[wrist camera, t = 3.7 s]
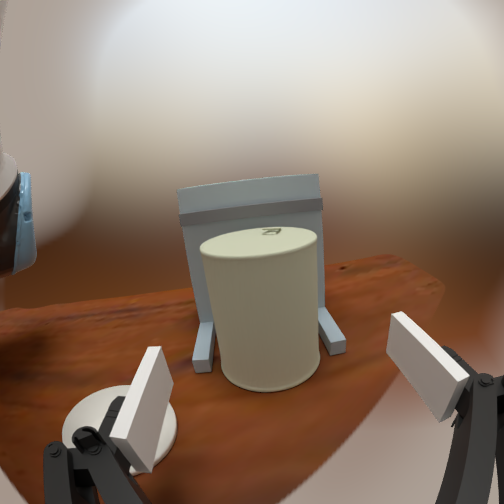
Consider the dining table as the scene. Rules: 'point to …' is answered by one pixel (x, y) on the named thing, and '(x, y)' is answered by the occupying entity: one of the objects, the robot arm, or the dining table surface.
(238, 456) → the dining table surface
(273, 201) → the pale blue footed box
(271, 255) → the can
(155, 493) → the dining table surface
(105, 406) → the coaster
